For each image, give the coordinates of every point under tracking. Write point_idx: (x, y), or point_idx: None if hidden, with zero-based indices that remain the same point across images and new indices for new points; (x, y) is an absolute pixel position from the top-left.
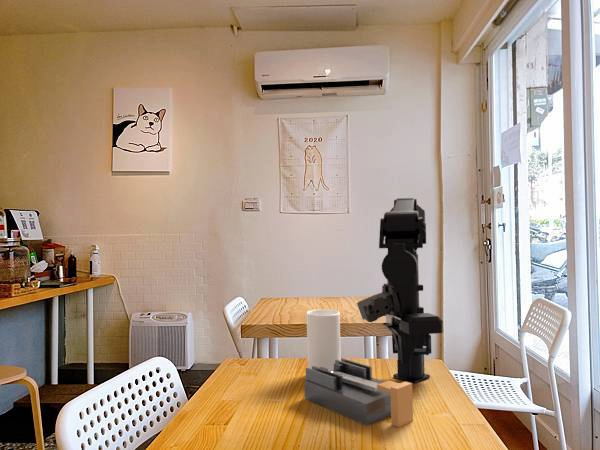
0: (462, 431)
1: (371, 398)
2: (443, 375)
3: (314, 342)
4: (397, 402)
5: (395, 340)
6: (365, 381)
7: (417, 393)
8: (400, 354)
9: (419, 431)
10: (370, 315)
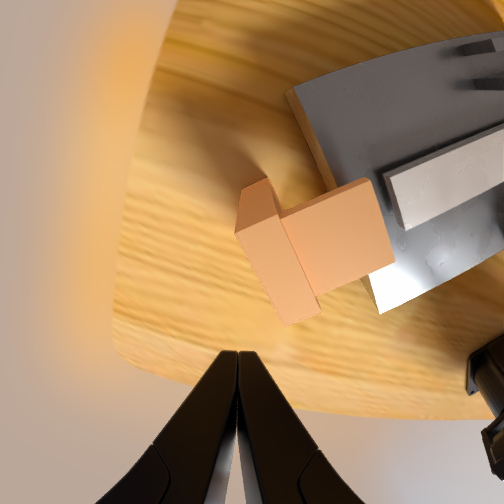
0: (176, 336)
1: (346, 137)
2: (456, 414)
3: None
4: (239, 212)
5: (305, 488)
6: (468, 179)
7: (426, 343)
8: (233, 391)
9: (198, 238)
10: None
